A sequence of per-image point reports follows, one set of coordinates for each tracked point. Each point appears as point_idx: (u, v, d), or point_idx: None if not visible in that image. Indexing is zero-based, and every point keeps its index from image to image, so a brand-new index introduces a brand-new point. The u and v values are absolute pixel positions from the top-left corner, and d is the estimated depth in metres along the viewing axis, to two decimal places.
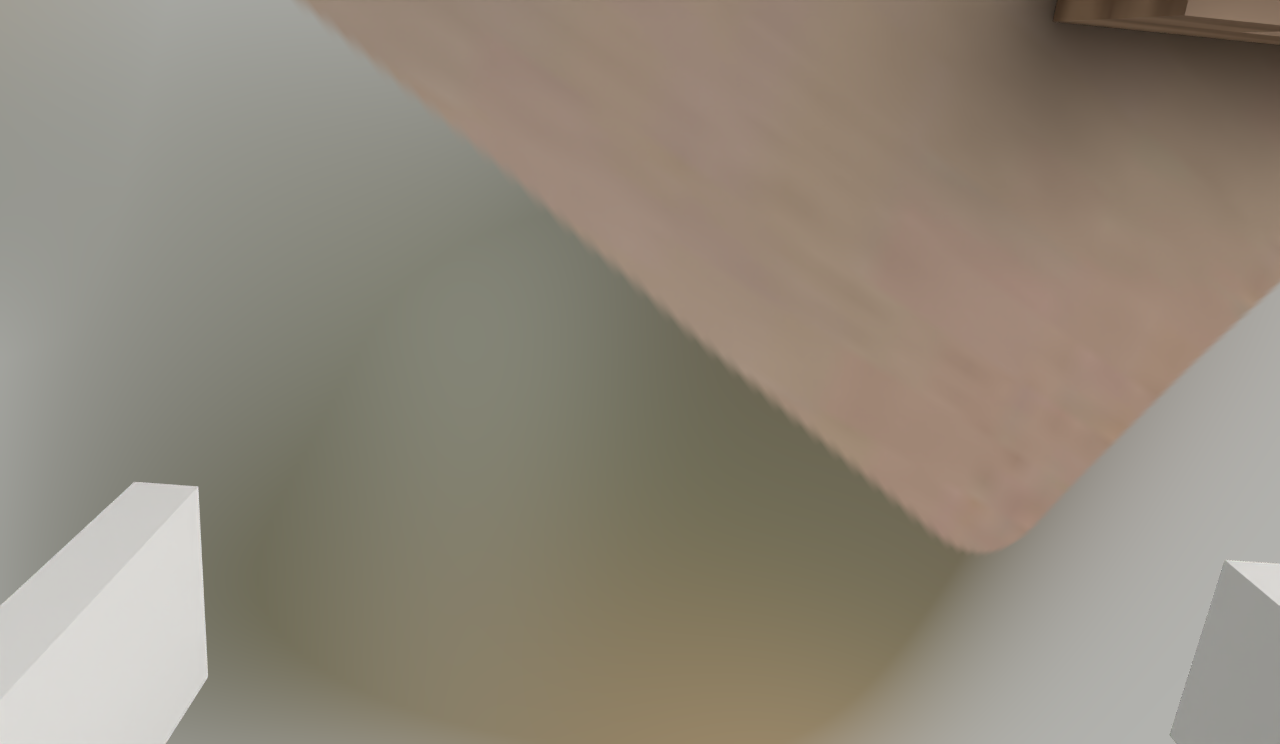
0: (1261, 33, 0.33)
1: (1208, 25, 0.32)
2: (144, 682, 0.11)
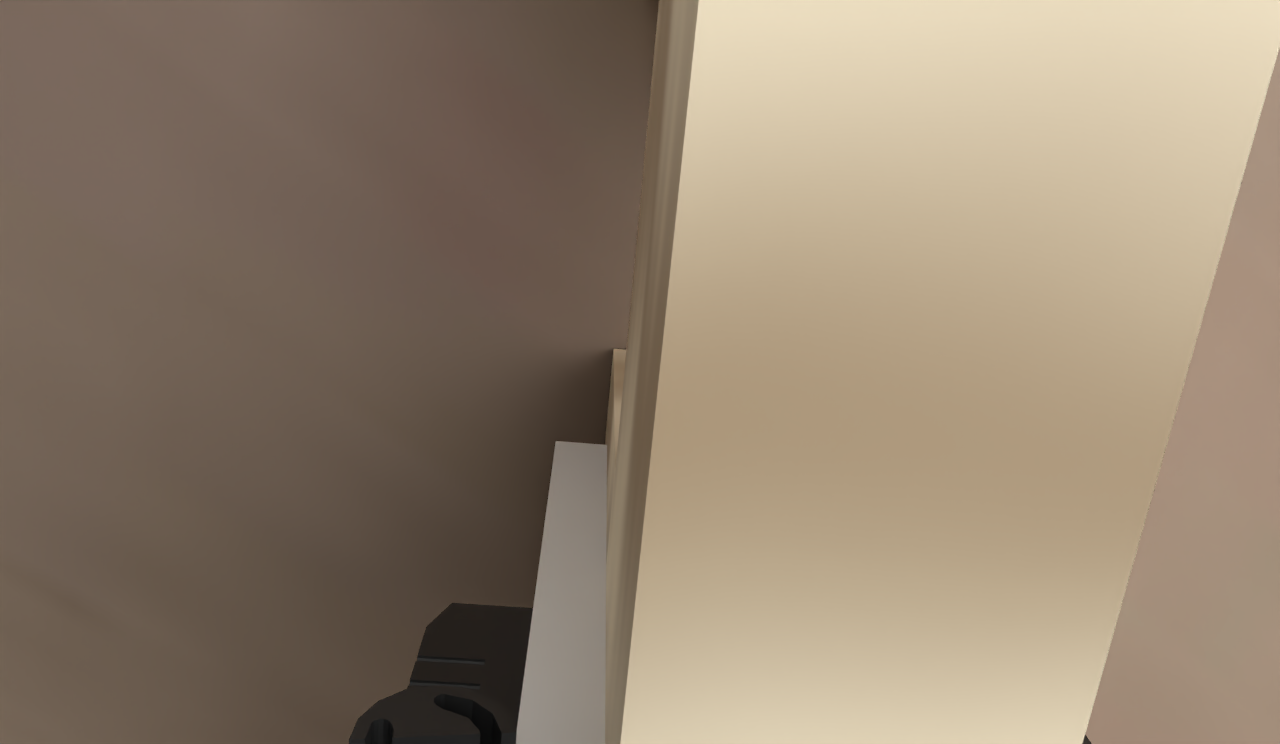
0: None
1: None
2: None
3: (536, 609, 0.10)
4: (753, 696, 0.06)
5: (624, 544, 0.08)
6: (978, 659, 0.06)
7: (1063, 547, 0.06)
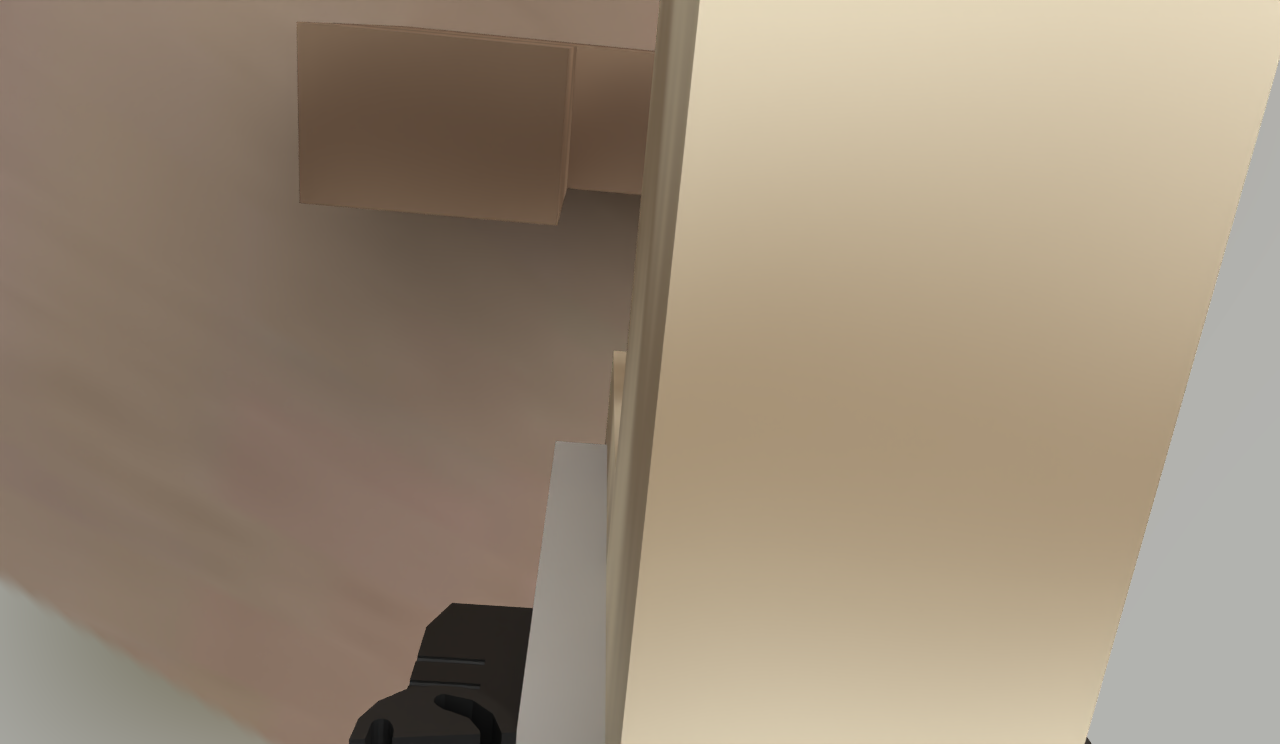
0: (601, 189, 0.22)
1: None
2: None
3: (536, 609, 0.10)
4: (754, 701, 0.06)
5: (624, 548, 0.08)
6: (978, 665, 0.06)
7: (1063, 553, 0.06)
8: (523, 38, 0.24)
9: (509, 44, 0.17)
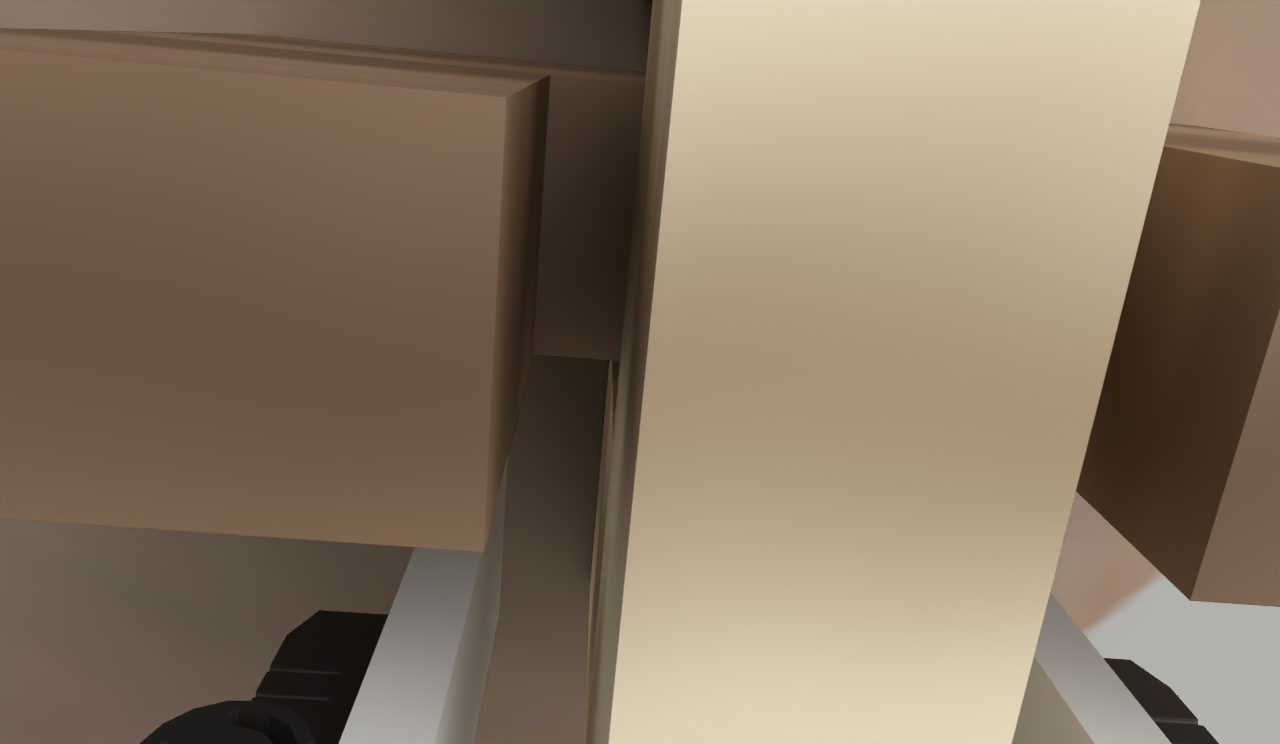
0: (601, 356, 0.11)
1: None
2: (489, 607, 0.13)
3: (390, 618, 0.10)
4: (736, 625, 0.07)
5: (620, 499, 0.08)
6: (935, 592, 0.07)
7: (1009, 490, 0.07)
8: (462, 56, 0.14)
9: (334, 86, 0.06)
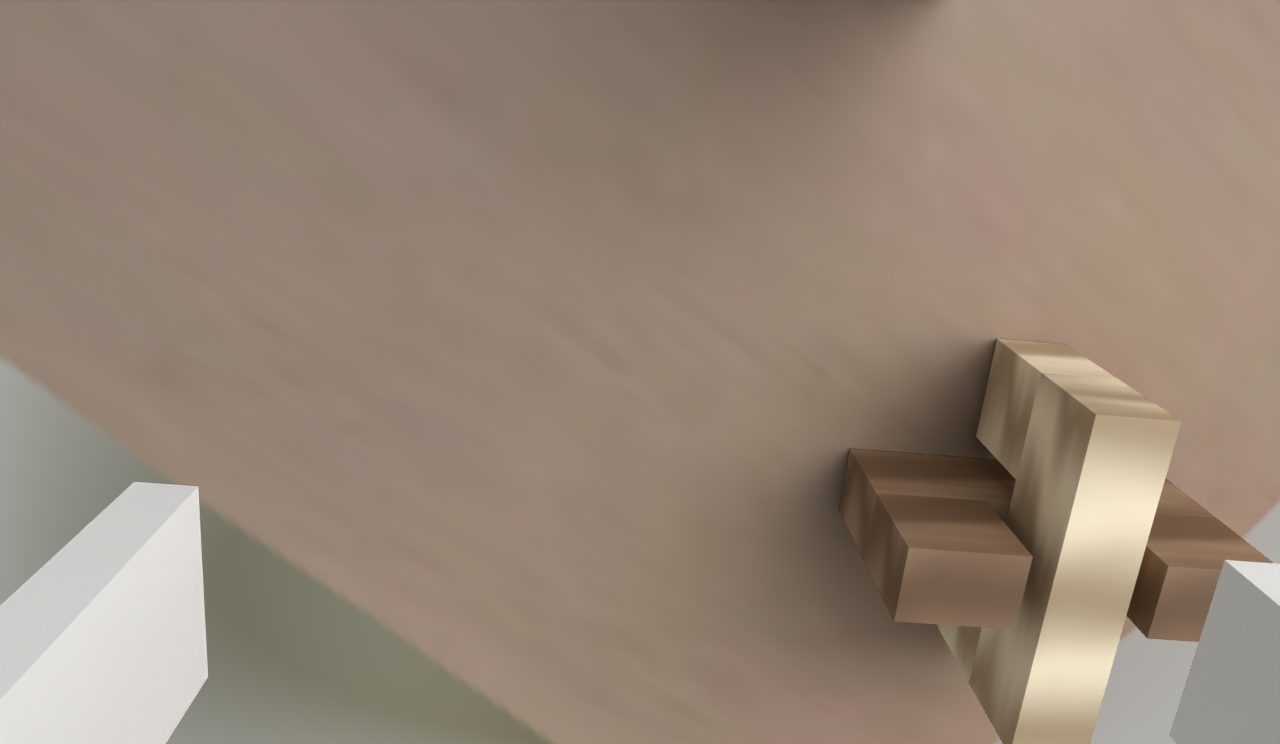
0: None
1: None
2: (144, 682, 0.11)
3: None
4: (1059, 643, 0.36)
5: (1021, 614, 0.38)
6: (1098, 636, 0.36)
7: (1113, 618, 0.36)
8: (923, 459, 0.43)
9: (1005, 555, 0.35)
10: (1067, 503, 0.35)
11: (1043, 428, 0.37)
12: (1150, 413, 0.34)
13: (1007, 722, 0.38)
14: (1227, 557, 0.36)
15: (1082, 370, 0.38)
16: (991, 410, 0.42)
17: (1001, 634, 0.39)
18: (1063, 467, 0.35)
